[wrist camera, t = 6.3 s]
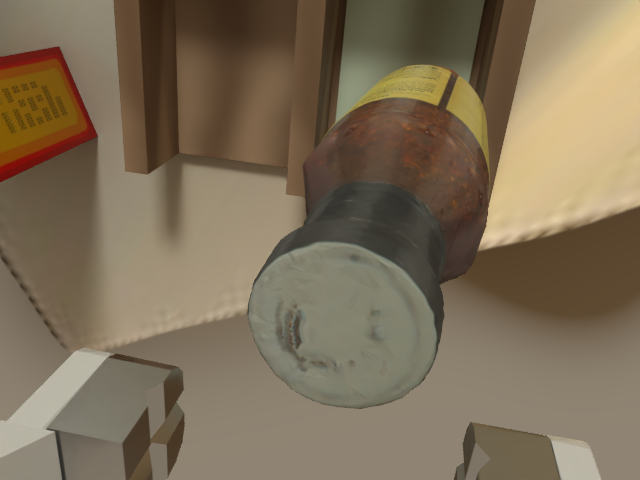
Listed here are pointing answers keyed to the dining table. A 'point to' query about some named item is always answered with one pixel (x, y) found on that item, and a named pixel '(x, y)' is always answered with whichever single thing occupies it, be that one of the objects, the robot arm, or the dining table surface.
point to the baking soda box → (38, 110)
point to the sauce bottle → (377, 242)
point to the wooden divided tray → (296, 70)
